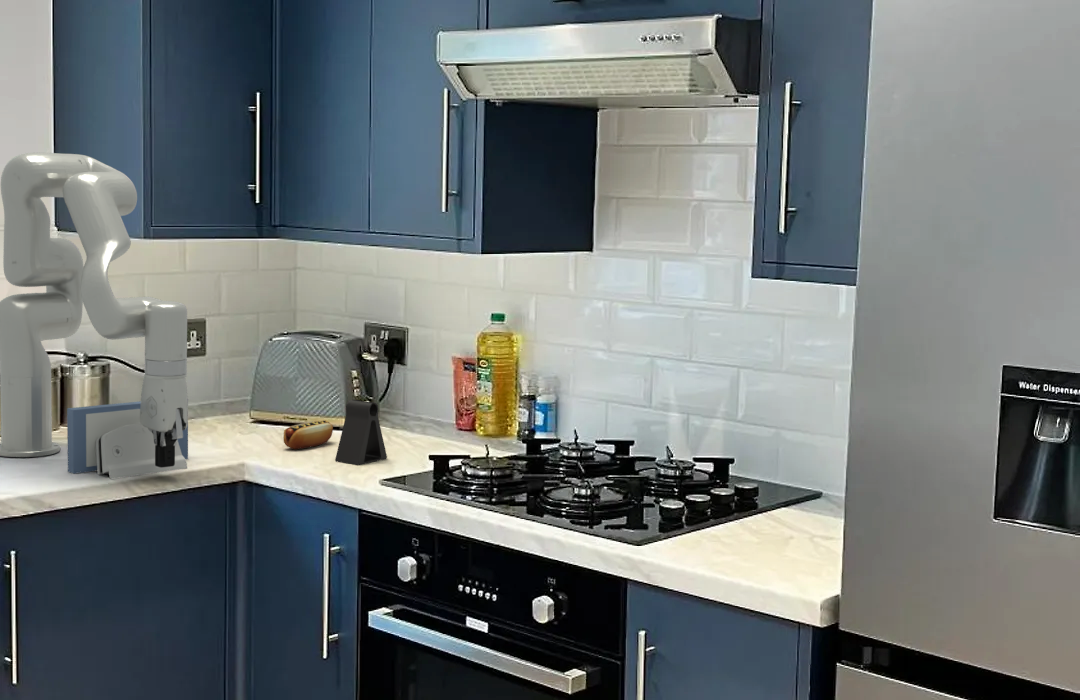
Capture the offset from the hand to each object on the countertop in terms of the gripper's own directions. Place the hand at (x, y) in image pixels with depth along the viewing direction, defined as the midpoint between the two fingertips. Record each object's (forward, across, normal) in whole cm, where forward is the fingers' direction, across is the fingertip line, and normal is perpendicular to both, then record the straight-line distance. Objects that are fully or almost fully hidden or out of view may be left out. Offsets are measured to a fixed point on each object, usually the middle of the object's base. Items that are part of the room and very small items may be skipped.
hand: (164, 465), depth 266 cm
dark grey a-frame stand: (+2, +8, +39) cm, 40 cm away
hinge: (+3, -8, -1) cm, 9 cm away
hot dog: (+2, -10, +39) cm, 40 cm away
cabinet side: (+2, -14, 0) cm, 14 cm away
